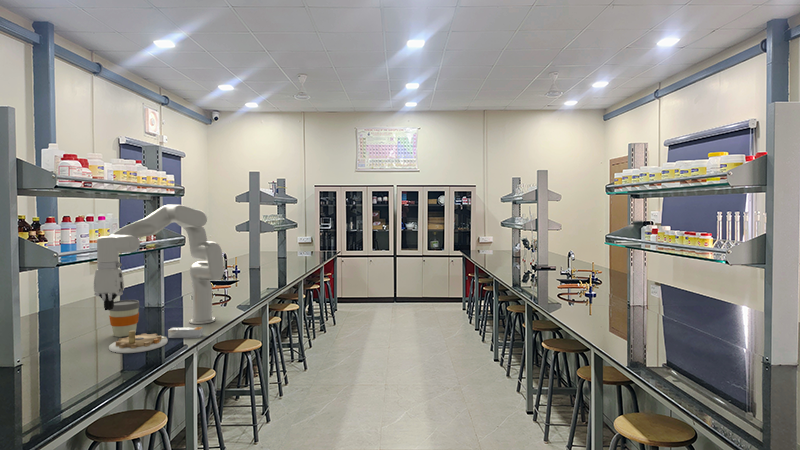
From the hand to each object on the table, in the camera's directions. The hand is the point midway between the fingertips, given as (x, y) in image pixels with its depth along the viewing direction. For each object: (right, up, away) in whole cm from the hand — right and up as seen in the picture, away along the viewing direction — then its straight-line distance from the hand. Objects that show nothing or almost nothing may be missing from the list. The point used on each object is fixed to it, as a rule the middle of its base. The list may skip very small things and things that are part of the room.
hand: (108, 309), depth 188 cm
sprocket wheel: (+8, -16, +7) cm, 19 cm away
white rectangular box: (+22, -17, +21) cm, 35 cm away
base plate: (+8, -17, +7) cm, 20 cm away
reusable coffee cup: (-8, -16, +24) cm, 30 cm away
